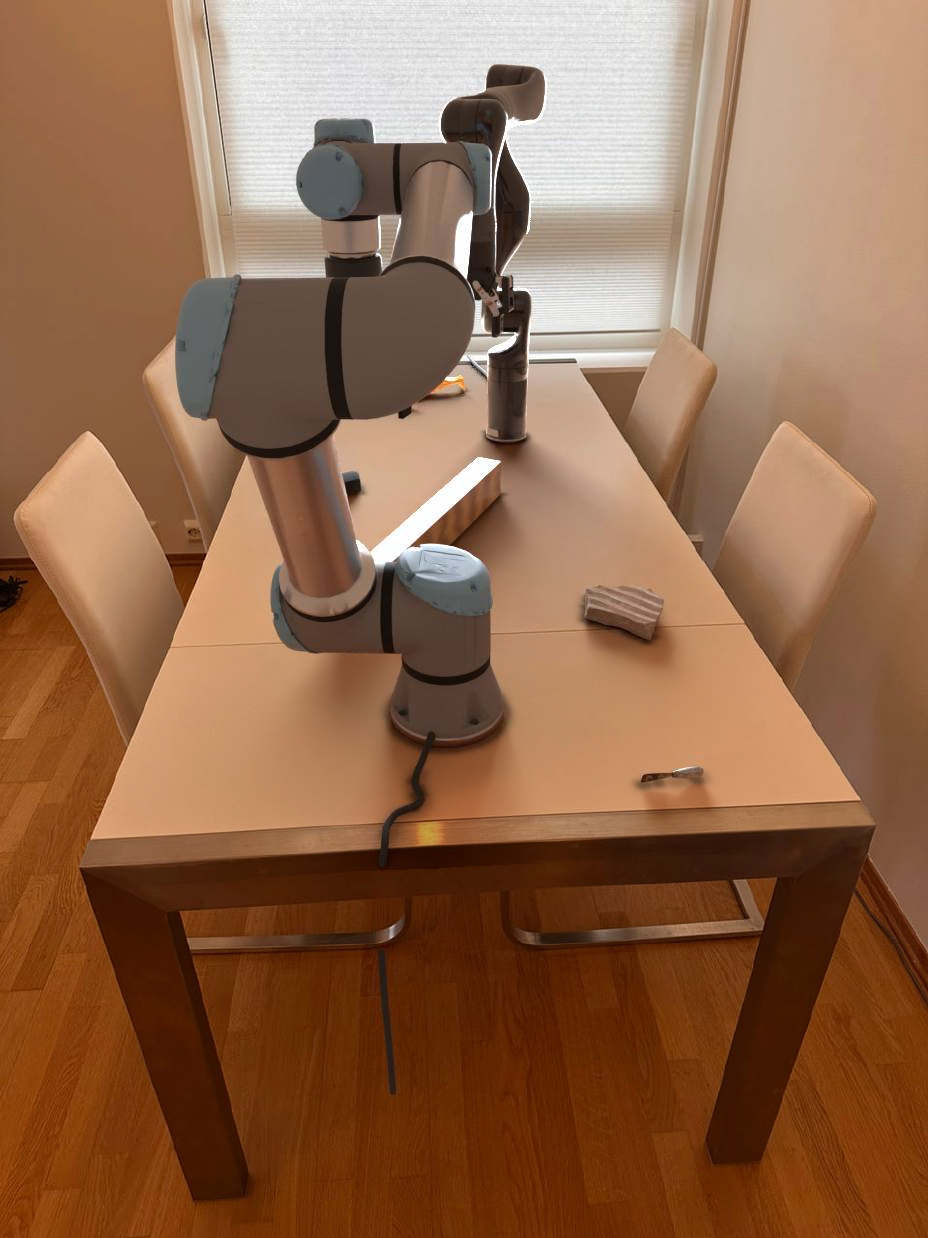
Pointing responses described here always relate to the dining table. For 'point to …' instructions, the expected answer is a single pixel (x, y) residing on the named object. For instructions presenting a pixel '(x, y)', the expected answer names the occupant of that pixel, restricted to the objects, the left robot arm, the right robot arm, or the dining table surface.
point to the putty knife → (674, 774)
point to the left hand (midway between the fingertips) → (363, 409)
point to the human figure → (451, 383)
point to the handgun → (352, 482)
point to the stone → (624, 608)
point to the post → (446, 511)
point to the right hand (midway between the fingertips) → (473, 334)
